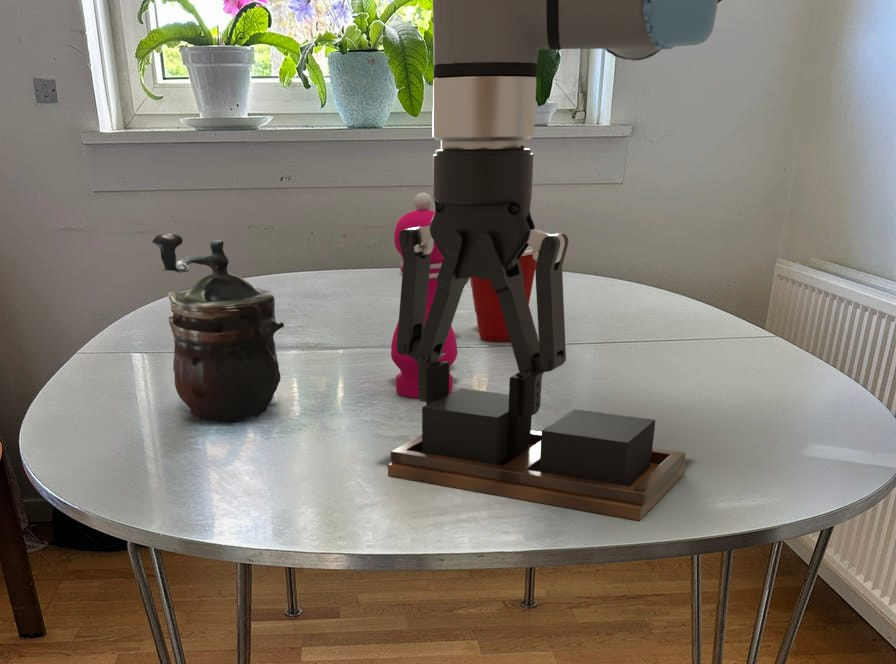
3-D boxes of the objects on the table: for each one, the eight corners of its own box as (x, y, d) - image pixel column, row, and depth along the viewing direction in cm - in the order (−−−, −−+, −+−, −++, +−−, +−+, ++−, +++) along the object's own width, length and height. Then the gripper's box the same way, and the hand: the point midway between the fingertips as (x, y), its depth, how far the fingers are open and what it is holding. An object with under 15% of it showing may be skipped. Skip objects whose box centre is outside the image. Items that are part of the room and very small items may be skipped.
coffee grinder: (141, 436, 91) (108, 235, 83) (193, 397, 104) (170, 218, 95) (268, 440, 90) (249, 235, 81) (305, 399, 102) (292, 218, 94)
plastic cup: (443, 338, 130) (443, 244, 124) (498, 327, 136) (500, 237, 131) (500, 349, 123) (503, 250, 117) (555, 337, 129) (560, 243, 123)
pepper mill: (469, 388, 106) (472, 191, 96) (433, 403, 100) (433, 195, 91) (415, 380, 109) (413, 189, 100) (378, 394, 104) (372, 193, 94)
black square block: (650, 467, 78) (655, 419, 76) (622, 493, 73) (627, 442, 71) (570, 455, 81) (574, 409, 79) (538, 479, 76) (541, 430, 74)
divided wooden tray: (684, 473, 80) (687, 450, 79) (639, 520, 71) (642, 495, 70) (453, 438, 89) (453, 417, 88) (387, 475, 80) (387, 452, 79)
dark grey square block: (530, 443, 83) (532, 397, 81) (496, 465, 78) (497, 417, 76) (459, 432, 86) (460, 387, 84) (421, 453, 81) (421, 406, 79)
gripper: (628, 144, 69) (602, 450, 80) (394, 143, 78) (399, 419, 89) (592, 147, 63) (569, 476, 74) (344, 146, 72) (356, 440, 83)
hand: (477, 445), depth 82 cm, fingers closed on dark grey square block, 7 cm apart
